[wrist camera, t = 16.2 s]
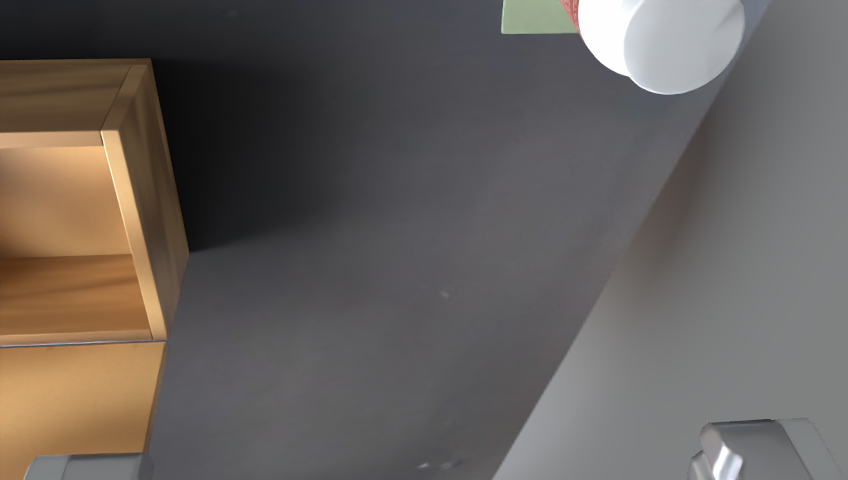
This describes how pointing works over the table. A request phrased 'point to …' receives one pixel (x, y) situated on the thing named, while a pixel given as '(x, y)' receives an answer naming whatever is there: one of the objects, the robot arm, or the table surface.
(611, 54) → the pill bottle
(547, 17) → the mat
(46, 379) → the chest lid
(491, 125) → the table surface
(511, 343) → the table surface
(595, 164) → the table surface
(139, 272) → the chest
